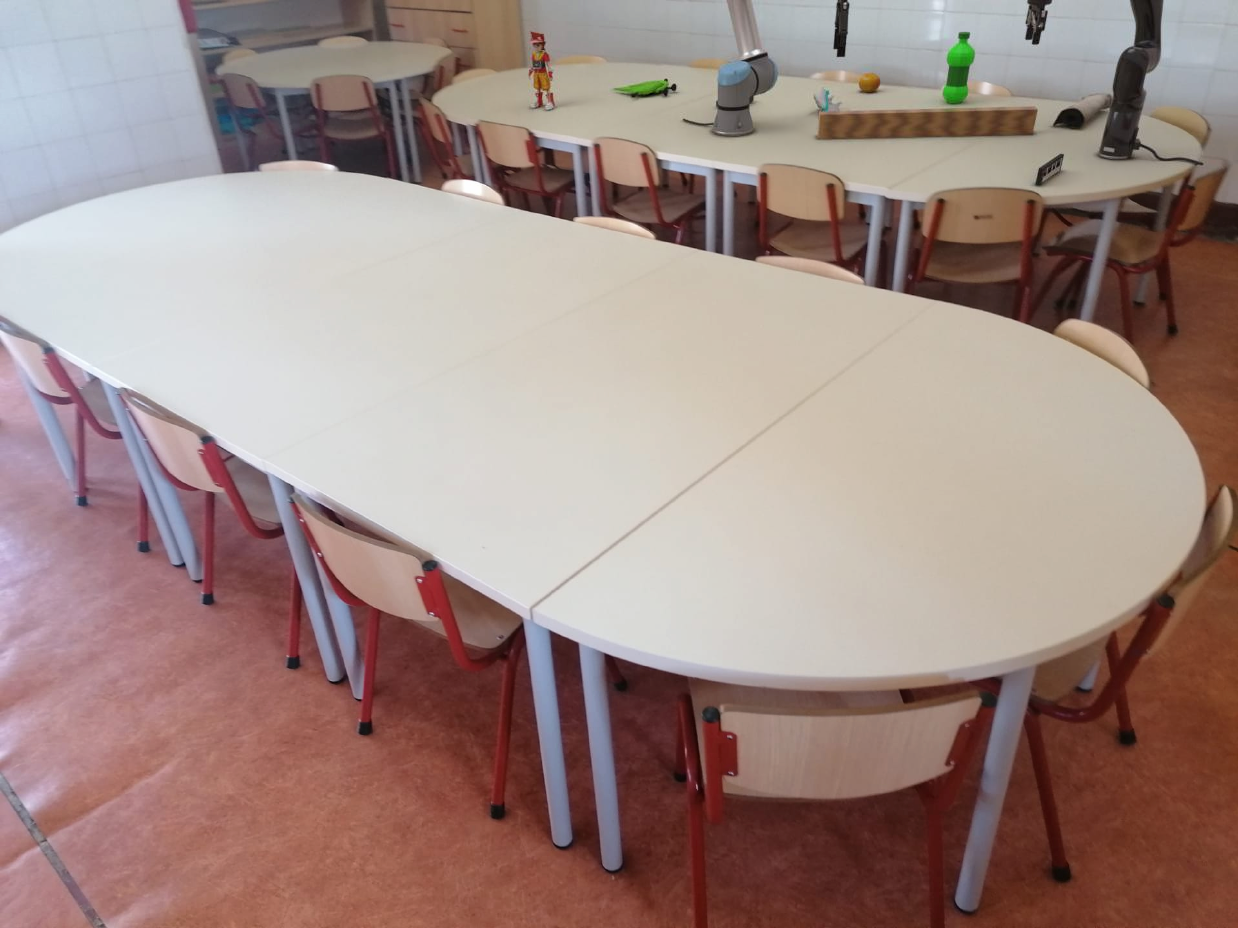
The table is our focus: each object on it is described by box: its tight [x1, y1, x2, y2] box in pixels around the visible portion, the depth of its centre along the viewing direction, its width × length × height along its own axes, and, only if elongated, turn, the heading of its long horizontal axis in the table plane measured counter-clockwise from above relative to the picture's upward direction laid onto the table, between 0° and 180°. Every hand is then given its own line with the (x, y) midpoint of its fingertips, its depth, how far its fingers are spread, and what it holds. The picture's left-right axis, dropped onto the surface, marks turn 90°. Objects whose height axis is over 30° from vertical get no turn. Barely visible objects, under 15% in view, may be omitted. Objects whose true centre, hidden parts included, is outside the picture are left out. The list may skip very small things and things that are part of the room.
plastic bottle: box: [942, 31, 976, 104], centre depth 348 cm, size 10×10×25 cm
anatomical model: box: [813, 86, 843, 112], centre depth 348 cm, size 15×10×10 cm
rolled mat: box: [1052, 92, 1113, 129], centre depth 324 cm, size 30×9×10 cm
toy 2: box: [612, 78, 677, 99], centre depth 396 cm, size 28×5×30 cm
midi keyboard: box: [1035, 153, 1065, 186], centre depth 273 cm, size 18×1×5 cm, turn 138°
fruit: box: [858, 72, 881, 93], centre depth 374 cm, size 8×8×8 cm
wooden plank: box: [817, 105, 1039, 140], centre depth 317 cm, size 74×4×8 cm, turn 83°
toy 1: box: [527, 31, 556, 111], centre depth 374 cm, size 12×9×30 cm
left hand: (839, 53), depth 308 cm, fingers open, 13 cm apart
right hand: (1031, 42), depth 299 cm, fingers open, 8 cm apart
